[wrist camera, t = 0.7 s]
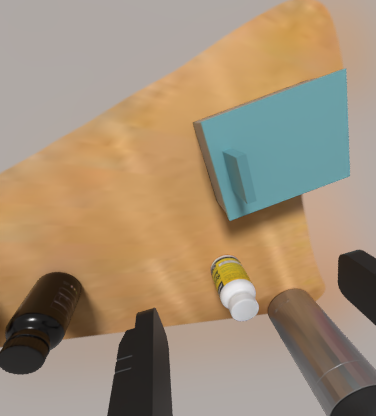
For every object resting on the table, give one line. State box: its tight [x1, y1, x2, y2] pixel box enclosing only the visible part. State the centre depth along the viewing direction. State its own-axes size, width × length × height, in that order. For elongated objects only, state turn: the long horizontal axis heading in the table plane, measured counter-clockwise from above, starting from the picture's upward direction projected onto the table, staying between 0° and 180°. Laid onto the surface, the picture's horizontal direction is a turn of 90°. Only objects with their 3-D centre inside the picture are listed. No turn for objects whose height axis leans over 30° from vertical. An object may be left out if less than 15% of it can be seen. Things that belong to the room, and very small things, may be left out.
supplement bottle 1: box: [0, 272, 81, 374], centre depth 31 cm, size 7×7×12 cm
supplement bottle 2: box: [211, 255, 259, 321], centre depth 35 cm, size 5×5×10 cm
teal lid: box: [200, 69, 350, 221], centre depth 25 cm, size 16×12×6 cm
